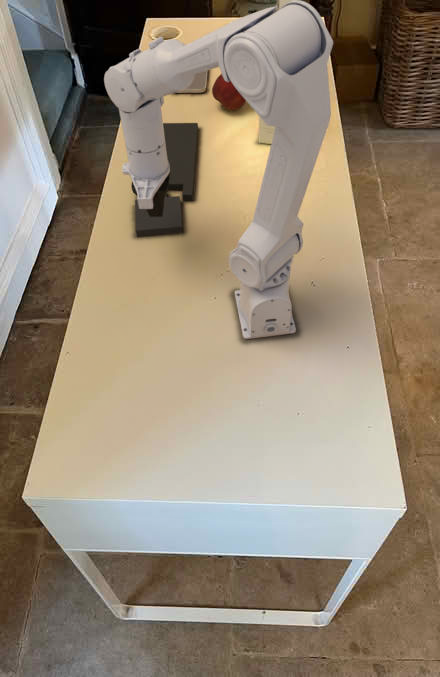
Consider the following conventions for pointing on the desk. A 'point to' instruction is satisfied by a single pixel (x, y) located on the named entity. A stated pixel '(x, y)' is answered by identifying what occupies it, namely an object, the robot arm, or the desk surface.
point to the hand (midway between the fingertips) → (156, 213)
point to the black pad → (181, 156)
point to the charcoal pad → (160, 219)
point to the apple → (227, 94)
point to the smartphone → (197, 84)
